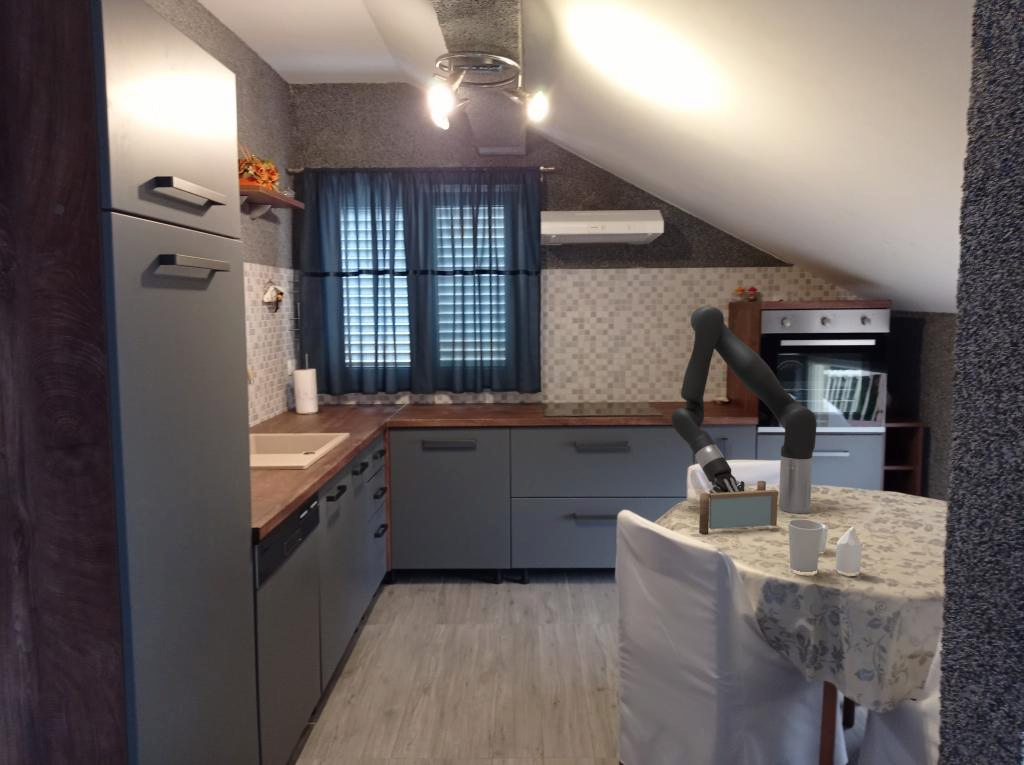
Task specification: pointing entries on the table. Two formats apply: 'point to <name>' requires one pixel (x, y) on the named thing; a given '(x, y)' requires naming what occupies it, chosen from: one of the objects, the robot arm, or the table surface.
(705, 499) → the gate posts
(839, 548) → the white pointed prism
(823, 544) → the shot glass
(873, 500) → the table surface
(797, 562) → the cup
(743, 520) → the gate
